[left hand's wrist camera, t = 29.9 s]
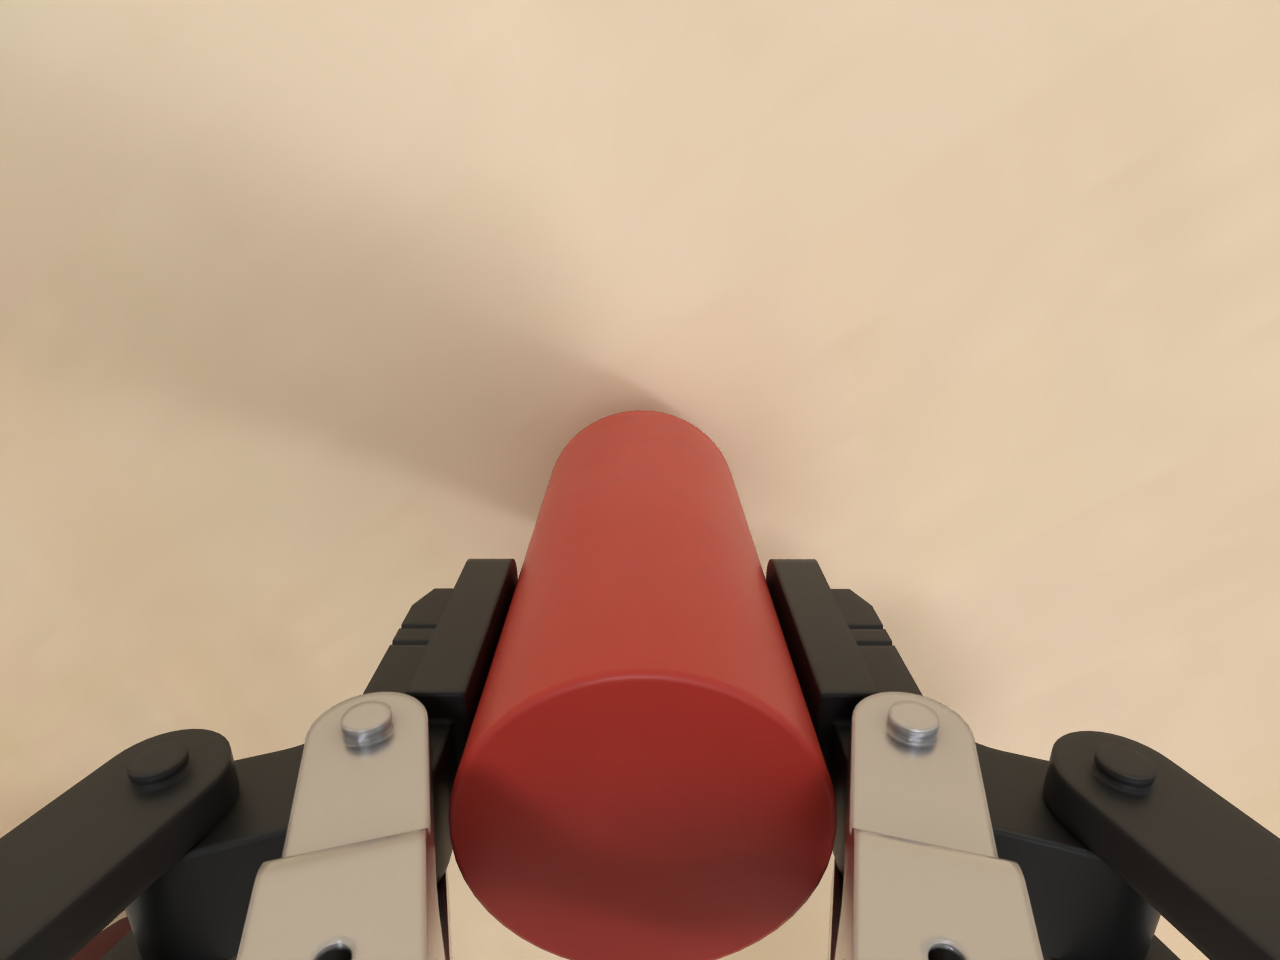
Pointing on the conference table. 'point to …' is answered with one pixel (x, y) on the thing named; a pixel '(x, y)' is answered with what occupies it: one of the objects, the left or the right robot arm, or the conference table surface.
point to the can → (642, 719)
